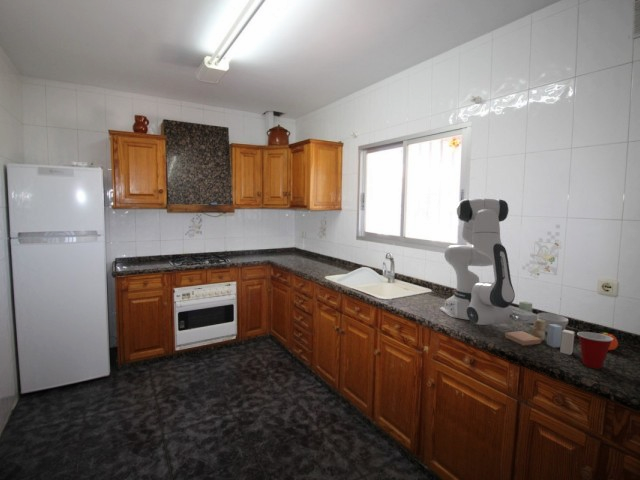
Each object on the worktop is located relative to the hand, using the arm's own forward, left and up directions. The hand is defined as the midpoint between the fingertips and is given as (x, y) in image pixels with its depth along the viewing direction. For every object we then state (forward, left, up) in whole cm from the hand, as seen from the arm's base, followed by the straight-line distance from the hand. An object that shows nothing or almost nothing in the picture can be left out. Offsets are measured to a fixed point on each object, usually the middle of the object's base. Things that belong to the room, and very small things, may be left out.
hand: (526, 311), depth 154 cm
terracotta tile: (0, -1, -13) cm, 13 cm away
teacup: (-5, +23, -14) cm, 27 cm away
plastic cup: (+26, +5, -14) cm, 30 cm away
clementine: (+16, +27, -14) cm, 34 cm away
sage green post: (0, -1, -5) cm, 5 cm away
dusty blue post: (+8, +8, -13) cm, 17 cm away
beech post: (+1, +7, -13) cm, 15 cm away
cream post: (+15, +6, -13) cm, 21 cm away
